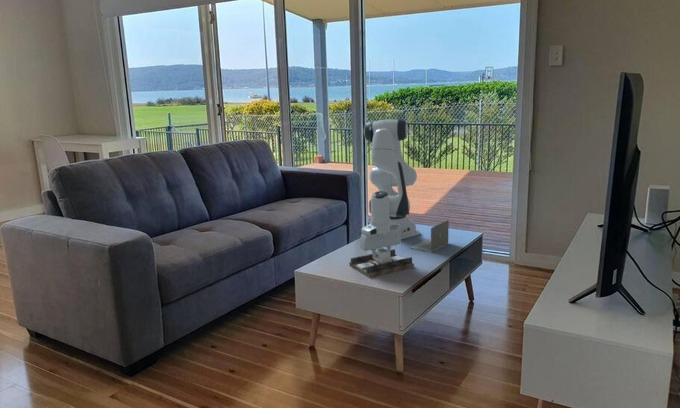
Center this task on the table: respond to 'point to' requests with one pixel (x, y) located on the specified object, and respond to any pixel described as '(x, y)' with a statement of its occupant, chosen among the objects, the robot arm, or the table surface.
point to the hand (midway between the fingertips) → (381, 256)
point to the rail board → (376, 268)
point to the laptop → (435, 238)
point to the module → (382, 255)
